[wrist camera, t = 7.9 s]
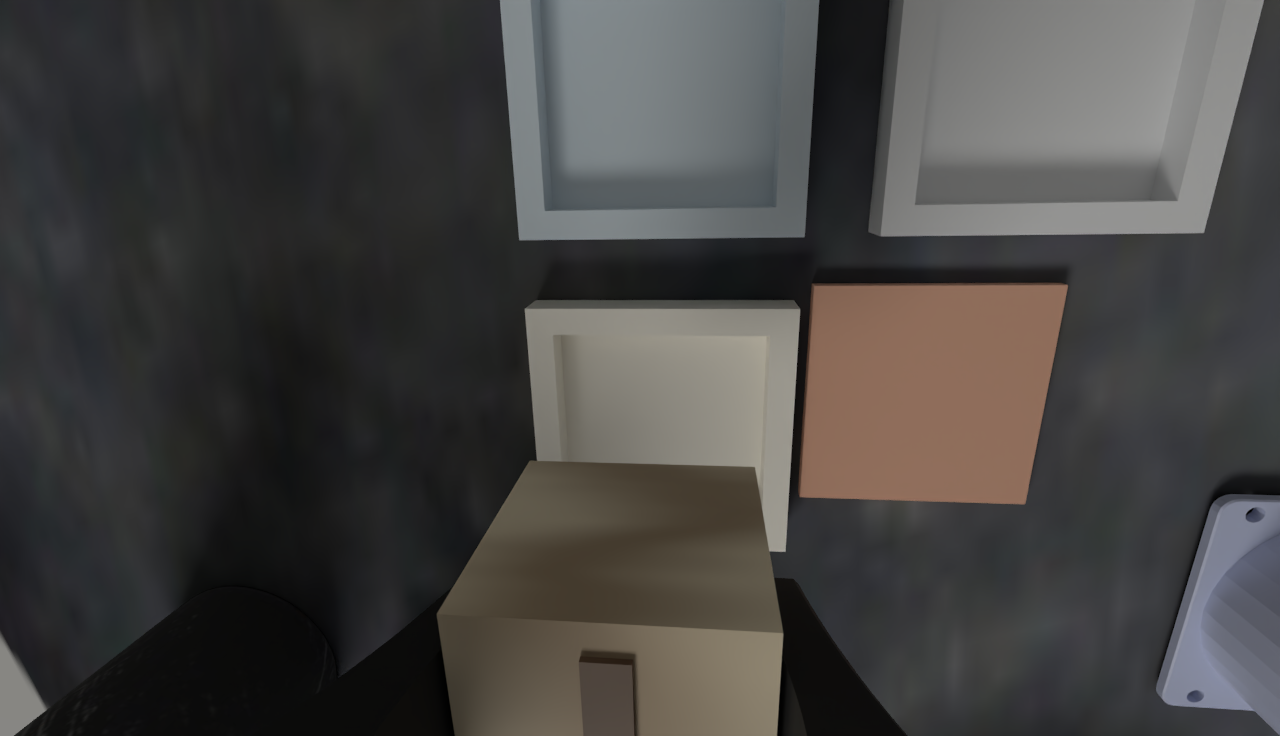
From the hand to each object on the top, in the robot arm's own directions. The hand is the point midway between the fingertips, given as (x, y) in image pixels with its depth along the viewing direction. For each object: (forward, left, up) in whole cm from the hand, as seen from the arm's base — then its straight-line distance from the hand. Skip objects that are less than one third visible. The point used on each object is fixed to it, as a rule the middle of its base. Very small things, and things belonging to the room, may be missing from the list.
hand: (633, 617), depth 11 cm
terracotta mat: (-8, -1, -9) cm, 12 cm away
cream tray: (0, 0, -9) cm, 9 cm away
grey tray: (-10, -10, -9) cm, 17 cm away
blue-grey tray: (0, -10, -9) cm, 14 cm away
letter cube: (0, 0, -2) cm, 2 cm away
